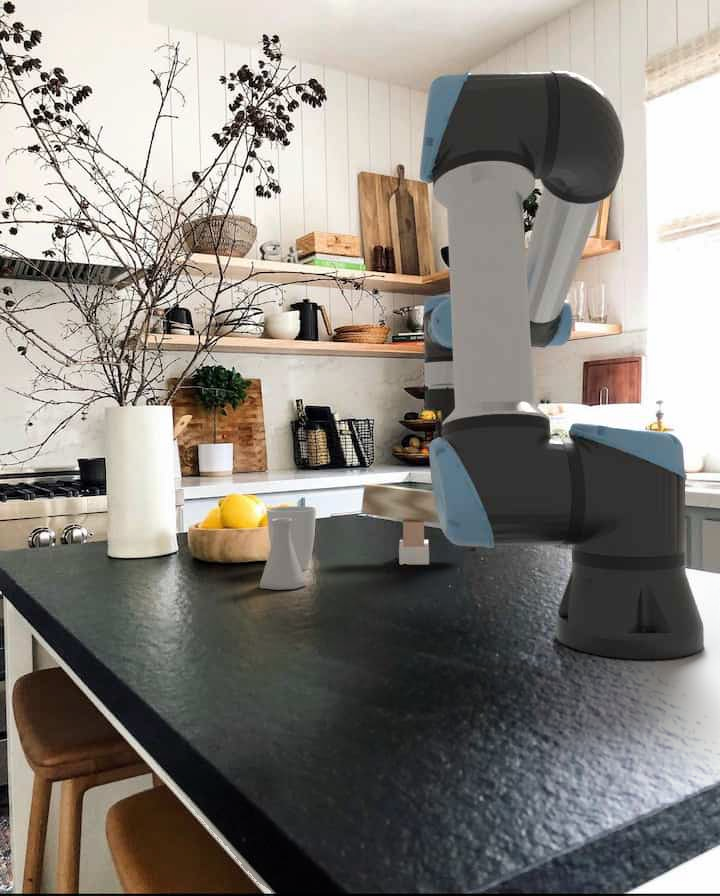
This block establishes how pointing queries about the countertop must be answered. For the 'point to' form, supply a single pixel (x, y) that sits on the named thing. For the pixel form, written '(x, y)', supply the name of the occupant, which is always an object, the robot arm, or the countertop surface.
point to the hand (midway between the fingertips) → (449, 523)
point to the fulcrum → (413, 544)
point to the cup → (297, 530)
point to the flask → (282, 560)
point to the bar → (399, 503)
